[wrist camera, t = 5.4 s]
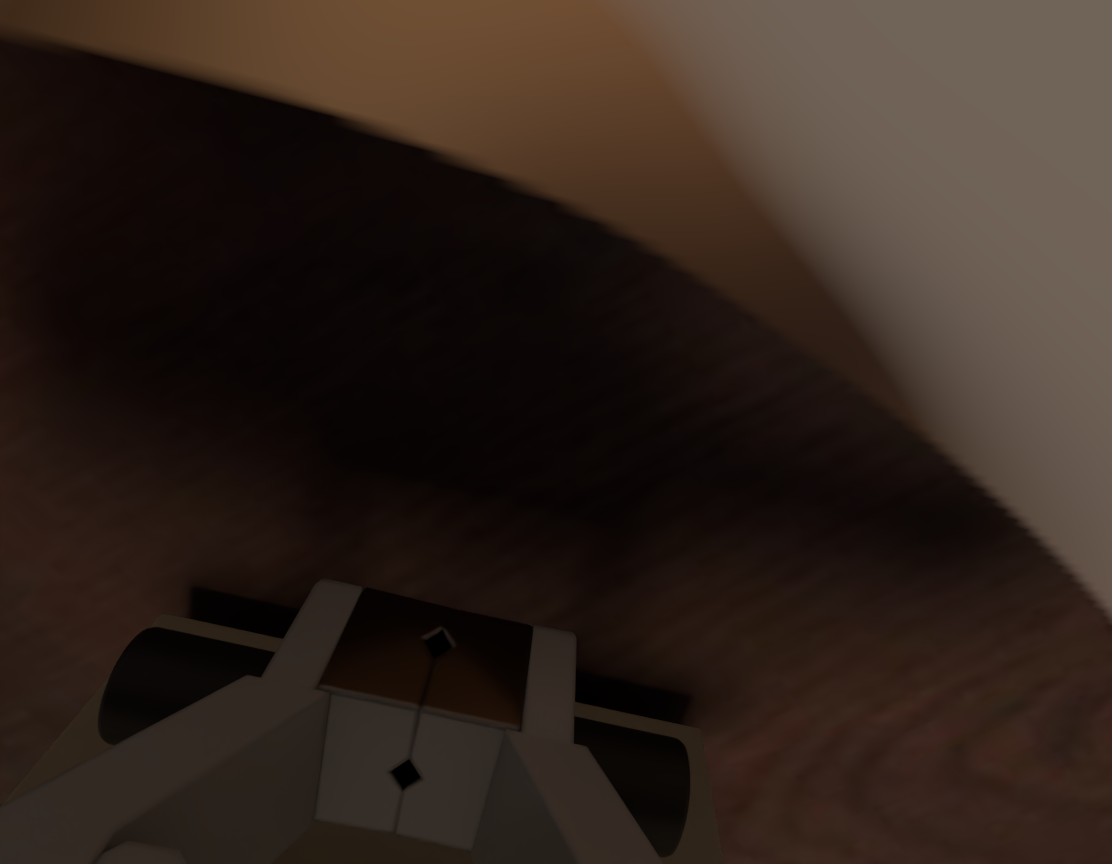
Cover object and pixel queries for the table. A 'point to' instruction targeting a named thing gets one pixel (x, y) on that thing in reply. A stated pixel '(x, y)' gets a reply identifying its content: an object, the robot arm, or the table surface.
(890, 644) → the table surface
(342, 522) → the table surface
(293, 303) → the table surface
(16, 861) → the robot arm
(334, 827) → the drawer
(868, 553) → the table surface
